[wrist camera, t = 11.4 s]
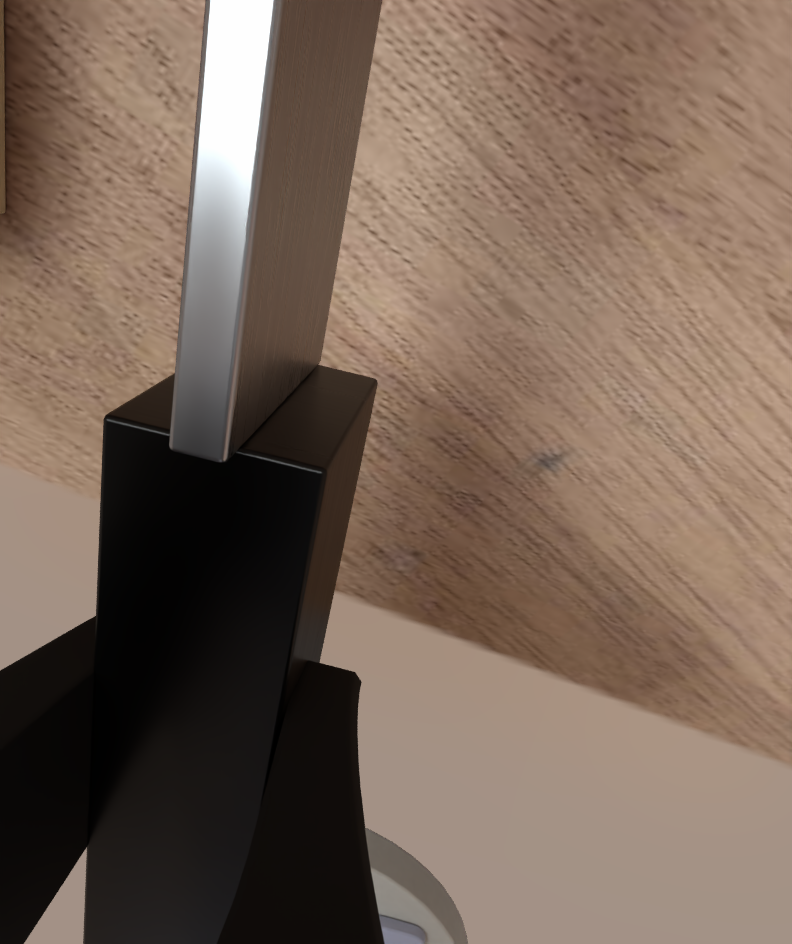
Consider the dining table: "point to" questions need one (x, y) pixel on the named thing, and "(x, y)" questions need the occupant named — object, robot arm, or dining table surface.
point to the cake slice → (2, 113)
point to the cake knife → (228, 478)
